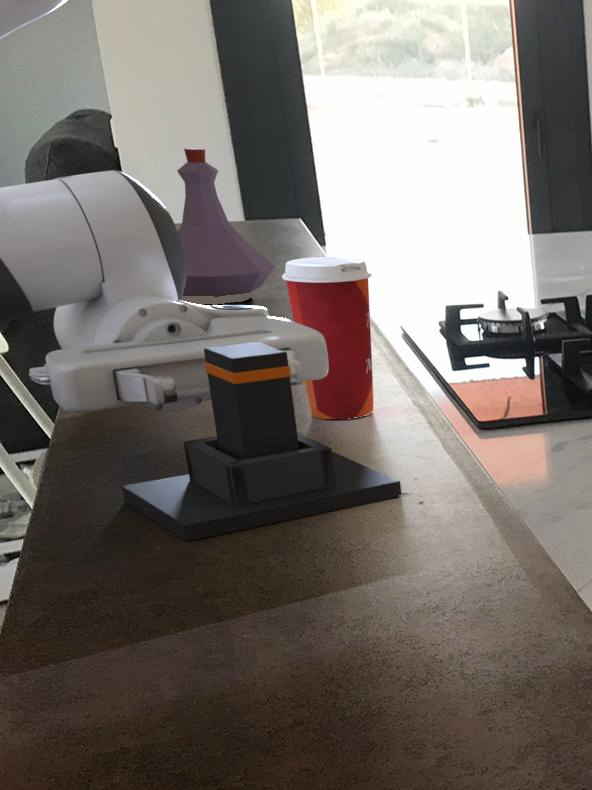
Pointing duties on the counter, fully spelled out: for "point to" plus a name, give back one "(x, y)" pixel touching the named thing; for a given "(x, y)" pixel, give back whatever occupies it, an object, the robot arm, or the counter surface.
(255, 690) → the counter surface
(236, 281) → the flask
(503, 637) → the counter surface
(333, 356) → the paper cup
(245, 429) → the black block
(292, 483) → the base pad
